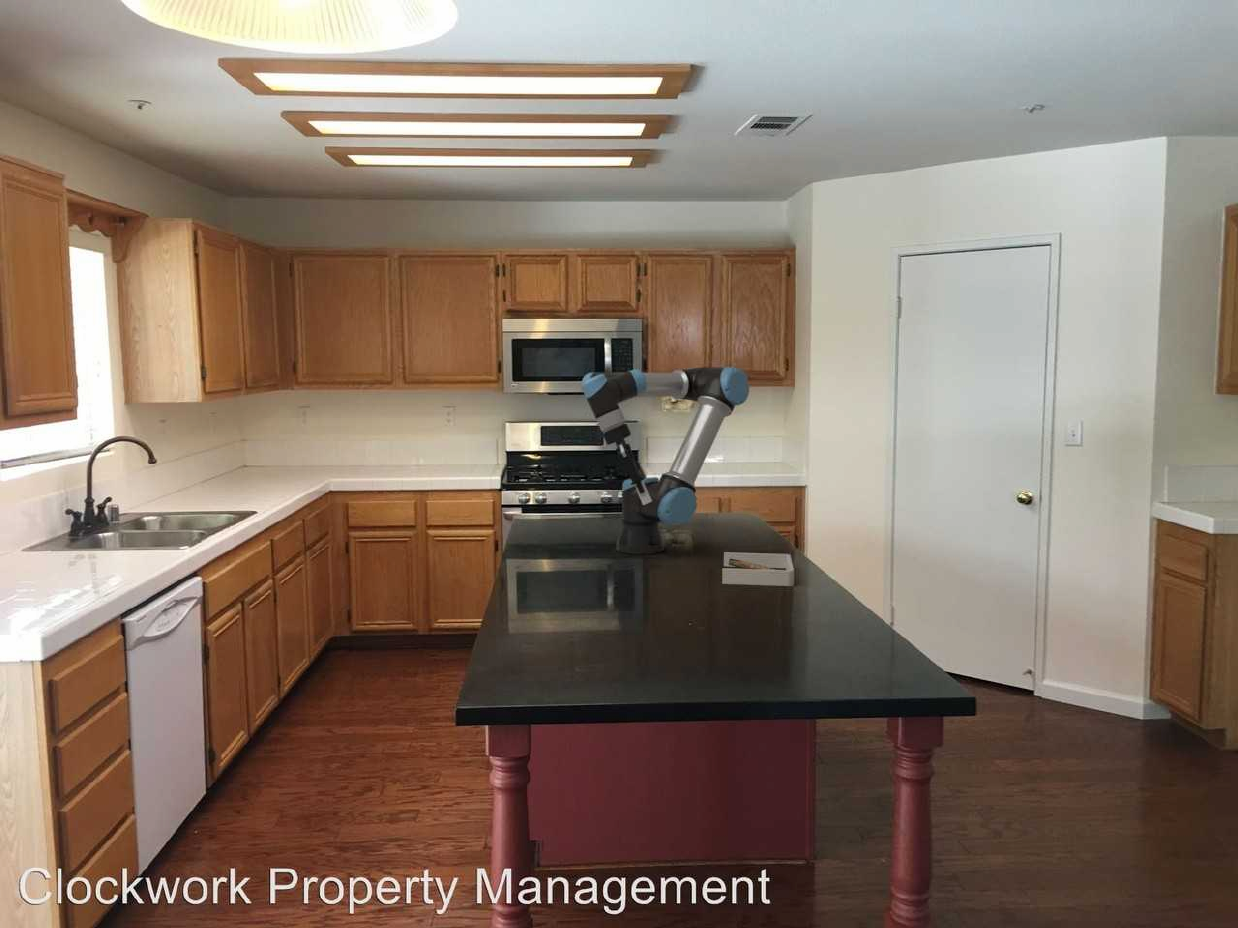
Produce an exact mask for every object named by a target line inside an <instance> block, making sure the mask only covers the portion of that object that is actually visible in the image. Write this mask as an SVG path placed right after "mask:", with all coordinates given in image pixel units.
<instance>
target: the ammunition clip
mask: <svg viewBox="0 0 1238 928" xmlns="http://www.w3.org/2000/svg"><path fill="white" fill-rule="evenodd" d="M729 565H731V566H735V568H739V569H760V570H775V568H768V567H764V566H760V565H756V564H752V563H748V562H744V561H740V560H735V559H731V558H730V560H729Z"/></svg>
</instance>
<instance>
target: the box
mask: <svg viewBox="0 0 1238 928" xmlns="http://www.w3.org/2000/svg"><path fill="white" fill-rule="evenodd" d="M730 558H731V559H735V560H740V561H744V562H748V563H752V564H756V565H760V566H764V567H768V568H770V569H774V570H760V569H744V568H736V567H735V566H731V565H729V560H730ZM723 567H725V568H722V569H721V570H722V571H721V572H722V574H721V577H722V578H721V579H722V582H721V584H723V585H752V586H780V587H783V586H784V587H794V586H795V569H794V565H793V560H792V556H791V553H769V552H768V553H764V552H761V553H760V552H737V551H736V552H732V551H724V552H723ZM726 567H730V568H726ZM731 567H732V568H731ZM734 567H735V568H734ZM782 569H783V570H782ZM784 569H785V570H784Z"/></svg>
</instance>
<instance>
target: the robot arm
mask: <svg viewBox="0 0 1238 928" xmlns="http://www.w3.org/2000/svg"><path fill="white" fill-rule="evenodd" d="M581 388H582V389H581V390H582V391H583V394H584V396H585V399H586V401H587V403H588V405H589V407H590V410H591V412H592V413H593V417H594V418H595V420H596V423H595V426H597V427H598V426H599V428H600V431H601V432H603V433H602V436H603V439H604V441H605V443H606V445H607V446H610V445H613V444H615V445H616V449H615V451H616V453H617V455H618V456H619V459H620V460H621V462H622V463H623V465H624V467H625V469H626V471H627V473H628V475H629V479H625V480H624V481H622V488H621V529H620V532H619V535H618V538H617V540H616V550H617V552H620V553H624V554H631V555H652V554H657V553H661V552H663V551H664V550H665V542H664V540H663V535H662V533H661V530H660V526H659V525H660V524H659V523H663V524H666V525H673V526H676V525H677V526H679V525H682V524H685V523H687V522H689V521H690V520H691V518H692V517H693V516H694V514H695V512H696V510H697V508H698V507H697V506H698V502H697V501H698V499H697V495H696V492H697V487H696V486H695V485H696V484H695V482H696V480H697V478H698V476H699V473H700V471H701V469H702V467H703V464H704V463H705V460H706V458H707V456H708V454H709V452H710V449H711V448H712V446H713V444H714V441H715V439H716V437H717V435H718V432H719V431H720V428H721V425H722V424H723V422H724V420H725V418H726V417H730V416H731V415H732V414H733V411H734V410H735V407H736V406H740V405H742V404H744V403H745V402H746V401H747V399H748V396H749V393H750V384H749V379H748V376H746V374H745V373H744V371H743V370H742V369H741V368H738V367H732V366H723V367H722V366H717V367H716V366H702V367H693V368H687V369H676V370H674V371H672V372H643V371H641V370H640V369H632V370H627V371H626V372H597V371H594V372H589V373H587V374H585V375H584V377H583V378H582V381H581ZM653 397H654V398H656V397H658V398H659V397H661V398H662V397H663V398H666V397H672V398H674V399H675V400H686V401H693V402H697V403H698V404H699V406H698V409H697V412H696V414H695V415H694V417H693V420H692V421H691V423H690V426H689V428H688V431H687V432H686V435H685V437H684V439H683V441H682V442H681V445H680V447H679V449H678V452H677V453H676V455H675V458H674V460H673V462H672V464H671V466H670V468H669V471H666V472H665V473H662V474H661V476H660V478H659V477H654V476H653V477H645V476H642V474H641V472H640V470H639V467H638V465H637V463H636V460H635V459H634V457H635V456H634V453H633V451H632V447H631V445H630V443H627V442H626V440H625V439H626V438H628V437H630V436H631V435H632V433H631V431H630V428H629V426H628V424H627V423H625V422H626V418H625V416H624V414H623V411H622V410H621V408H620V406H619V404H620V403H622V402H625V401H627V400H631V399H632V398H653Z"/></svg>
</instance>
